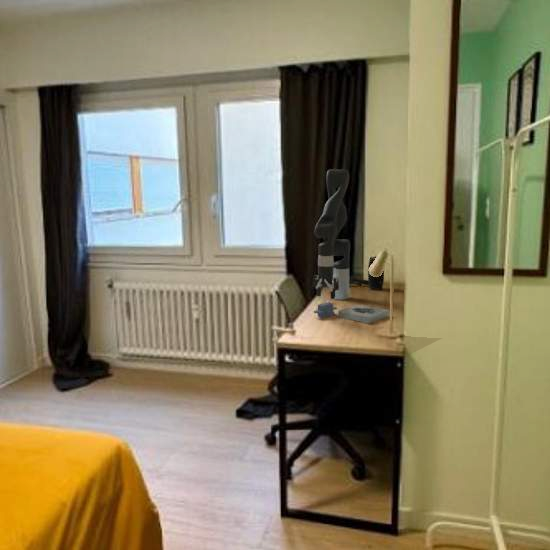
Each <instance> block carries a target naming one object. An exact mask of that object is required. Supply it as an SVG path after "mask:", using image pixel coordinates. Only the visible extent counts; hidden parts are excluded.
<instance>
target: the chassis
mask: <svg viewBox="0 0 550 550" xmlns="http://www.w3.org/2000/svg"><path fill="white" fill-rule="evenodd" d="M337 314H338V315H337V316H338V318H342V319H346V318H347V320H350V319H351V321H355V320H356V322H359V321H360V323H364V322H365V324H368V323H369V324H372V323H375V322H378V321H381V320H383V319H386V318H388V316H389V317H390V310H389V309H384V308H379V307H375V306H374V307H373V306H368V305H364V304H356V305H353V306H350V307H347V308H343V309H340V310H338V313H337ZM385 317H386V318H385ZM380 319H381V320H380Z"/></svg>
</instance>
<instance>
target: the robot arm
mask: <svg viewBox="0 0 550 550" xmlns="http://www.w3.org/2000/svg"><path fill="white" fill-rule="evenodd" d="M325 179H326V190H327V196H328V197H327V198H328V200H327V201H326V203H325V204H324V207H323V211H322V214H321V216H320V218H319V220H318V221H317V223H316V225H315V226H314V231H313V232H314V235H315V237H316V238H319V239H327V241H326V242H321V243H319V244H318V247H317V248H318V252H317V253H318V254H317V255H318V257H317V274H314V275H313V276H312V287H313V288H315V290H316V296H317V297H321V296H322V287H323V286H326V287H328V288H329V290H330V299H331V300H340V301H341V300H348V299H350V283H349V277H350V266H351V265H350V259H351V258H350V257H351V256H350V255H351V254H350V253H351V241H350V239H343V238H342V239H338V238H337V237H338V235H339V233H340V231H341V230H342V229H343V228H344V226H345V225H346V223H347V219H348V216H347V215H348V214H347V213H348V212H347V207H346V205H345V203H344V202H343V198H344V196H345V193H346V191H347V189H348V185H349V182H350V172H349V170H347V169H342V168H341V169H338V168H337V169H336V168H331V169H328V170H327V172H326V178H325ZM336 189H337V191H336ZM334 256H335V257H342V259H341V260H337V261H335V260H334Z"/></svg>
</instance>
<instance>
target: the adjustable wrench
mask: <svg viewBox="0 0 550 550" xmlns="http://www.w3.org/2000/svg"><path fill="white" fill-rule="evenodd" d="M353 284H354V285H357V286H359V287H360V286H362V285H364V286H369V282H368V279H359V278H356V277H354V276H349V285H353Z"/></svg>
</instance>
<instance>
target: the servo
mask: <svg viewBox="0 0 550 550" xmlns="http://www.w3.org/2000/svg"><path fill="white" fill-rule="evenodd" d="M335 310H338V308H337V306H334V303H333V302H331V300H326V302H321V303H319V304H317V309H316V310H314V311H313V313H314V314H317V317H318V316H319V317H318V318H323V319H325V318H329V317H331V316H335Z"/></svg>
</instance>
